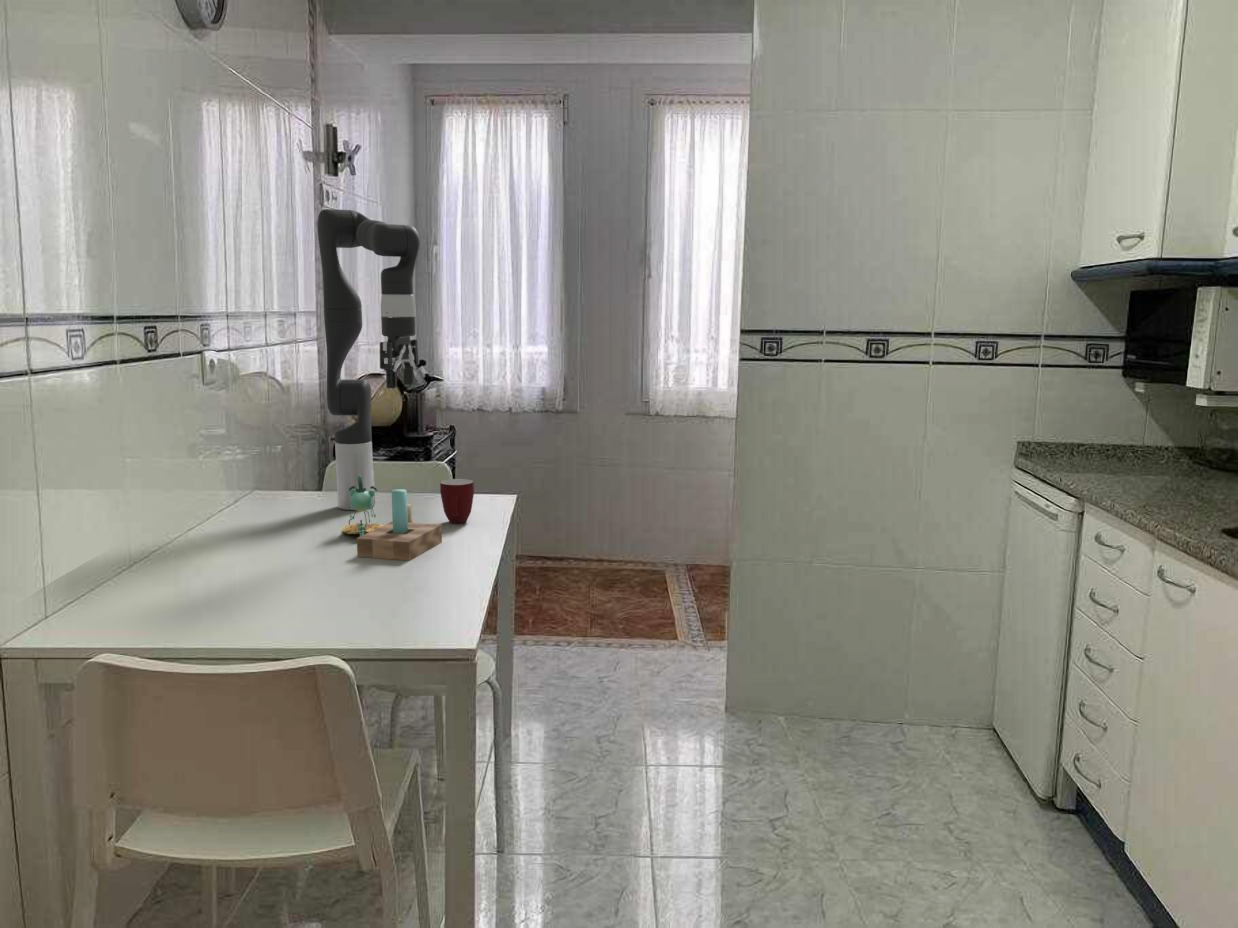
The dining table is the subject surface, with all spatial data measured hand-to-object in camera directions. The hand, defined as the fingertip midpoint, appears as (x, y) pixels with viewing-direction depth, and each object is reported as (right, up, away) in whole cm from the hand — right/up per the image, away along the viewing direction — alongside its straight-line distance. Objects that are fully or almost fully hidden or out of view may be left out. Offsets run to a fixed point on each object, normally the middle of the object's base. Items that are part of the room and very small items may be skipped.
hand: (400, 386), depth 222 cm
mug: (+11, -32, +13) cm, 37 cm away
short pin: (+1, -34, +1) cm, 34 cm away
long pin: (+3, -36, -11) cm, 38 cm away
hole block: (+3, -36, -11) cm, 38 cm away
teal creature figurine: (-10, -34, +3) cm, 36 cm away
